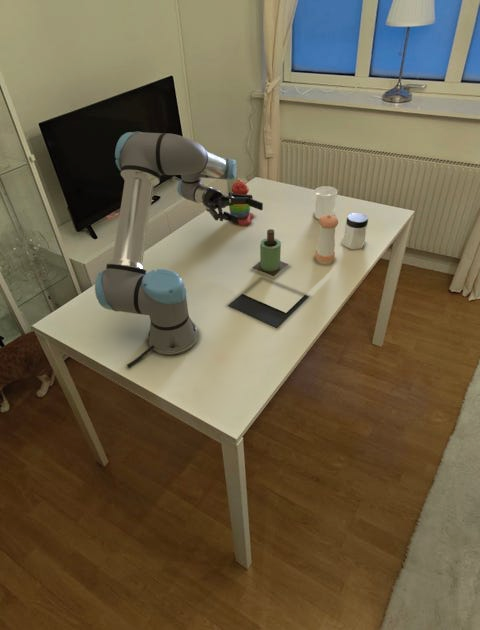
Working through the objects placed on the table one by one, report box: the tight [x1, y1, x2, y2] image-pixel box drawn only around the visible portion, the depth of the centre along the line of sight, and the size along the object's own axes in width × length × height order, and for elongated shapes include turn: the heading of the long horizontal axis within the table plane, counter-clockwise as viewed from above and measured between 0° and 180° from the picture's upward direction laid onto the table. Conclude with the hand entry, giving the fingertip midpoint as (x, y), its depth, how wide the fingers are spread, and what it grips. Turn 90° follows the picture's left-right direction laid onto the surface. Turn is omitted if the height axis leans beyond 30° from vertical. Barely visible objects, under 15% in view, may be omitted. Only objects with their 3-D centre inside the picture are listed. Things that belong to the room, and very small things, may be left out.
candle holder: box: [314, 185, 338, 220], centre depth 193 cm, size 10×10×12 cm
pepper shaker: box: [314, 214, 339, 263], centre depth 163 cm, size 7×7×19 cm
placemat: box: [228, 293, 309, 329], centre depth 150 cm, size 20×20×1 cm
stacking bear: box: [228, 179, 254, 227], centre depth 190 cm, size 11×10×18 cm
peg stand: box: [252, 228, 289, 277], centre depth 160 cm, size 10×10×16 cm
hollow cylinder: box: [259, 237, 282, 272], centre depth 161 cm, size 7×7×10 cm
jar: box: [342, 212, 369, 250], centre depth 173 cm, size 9×8×12 cm
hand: (250, 213), depth 158 cm, fingers open, 13 cm apart
